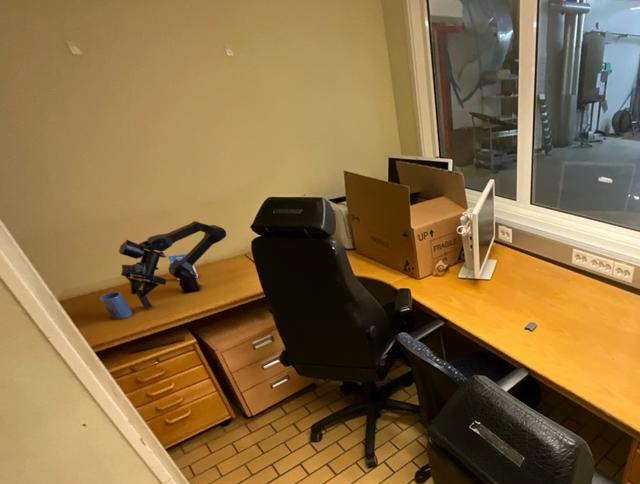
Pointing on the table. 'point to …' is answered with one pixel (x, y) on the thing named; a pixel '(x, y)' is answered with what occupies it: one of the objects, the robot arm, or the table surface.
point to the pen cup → (116, 305)
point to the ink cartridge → (143, 299)
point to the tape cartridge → (181, 259)
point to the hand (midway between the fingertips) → (137, 295)
